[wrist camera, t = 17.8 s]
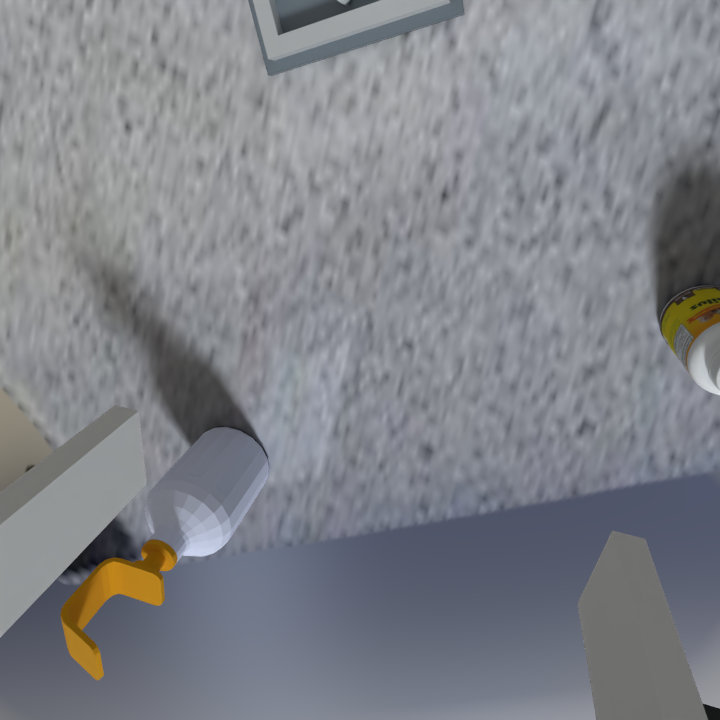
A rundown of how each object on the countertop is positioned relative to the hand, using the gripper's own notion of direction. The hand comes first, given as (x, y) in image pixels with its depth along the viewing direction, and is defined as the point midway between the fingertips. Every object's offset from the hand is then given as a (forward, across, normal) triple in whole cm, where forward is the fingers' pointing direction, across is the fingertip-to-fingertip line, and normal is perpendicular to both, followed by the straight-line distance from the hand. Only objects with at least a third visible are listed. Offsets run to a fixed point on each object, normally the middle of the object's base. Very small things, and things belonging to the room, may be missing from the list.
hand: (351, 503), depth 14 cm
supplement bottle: (+32, +20, -2) cm, 38 cm away
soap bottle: (+32, -20, -28) cm, 47 cm away
